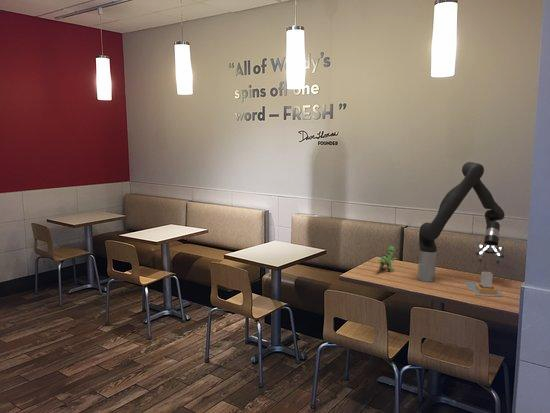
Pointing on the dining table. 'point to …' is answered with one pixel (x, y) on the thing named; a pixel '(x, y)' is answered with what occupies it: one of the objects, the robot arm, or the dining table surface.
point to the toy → (387, 260)
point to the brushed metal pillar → (486, 280)
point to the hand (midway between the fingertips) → (488, 261)
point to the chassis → (482, 289)
